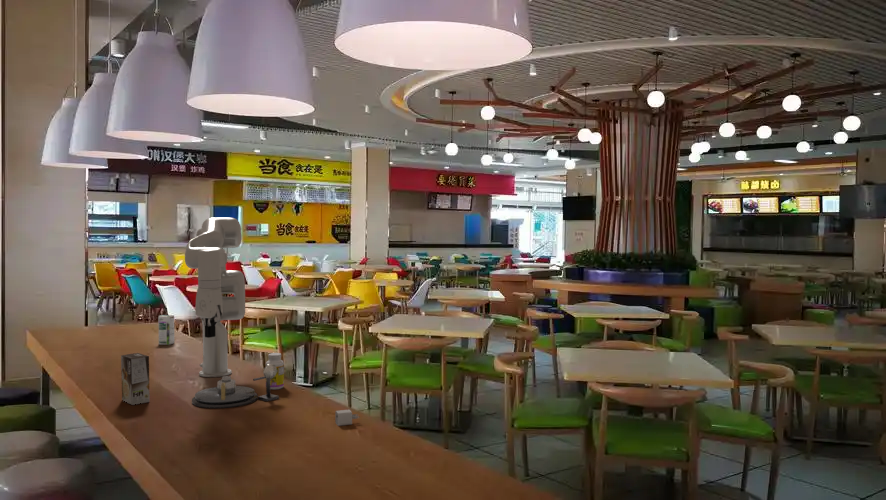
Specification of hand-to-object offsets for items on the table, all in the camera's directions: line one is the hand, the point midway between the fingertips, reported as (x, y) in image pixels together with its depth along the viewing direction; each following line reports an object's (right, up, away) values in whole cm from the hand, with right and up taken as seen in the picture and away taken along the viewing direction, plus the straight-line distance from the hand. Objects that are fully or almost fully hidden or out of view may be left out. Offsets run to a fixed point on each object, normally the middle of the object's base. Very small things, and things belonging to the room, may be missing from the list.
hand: (210, 336), depth 240 cm
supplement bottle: (+18, -22, +19) cm, 34 cm away
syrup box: (-59, -17, +108) cm, 124 cm away
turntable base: (+5, -22, +1) cm, 23 cm away
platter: (+5, -21, +1) cm, 22 cm away
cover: (+5, -20, +1) cm, 20 cm away
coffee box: (-25, -22, -1) cm, 34 cm away
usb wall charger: (+52, -24, -26) cm, 63 cm away
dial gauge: (+19, -22, +1) cm, 29 cm away
